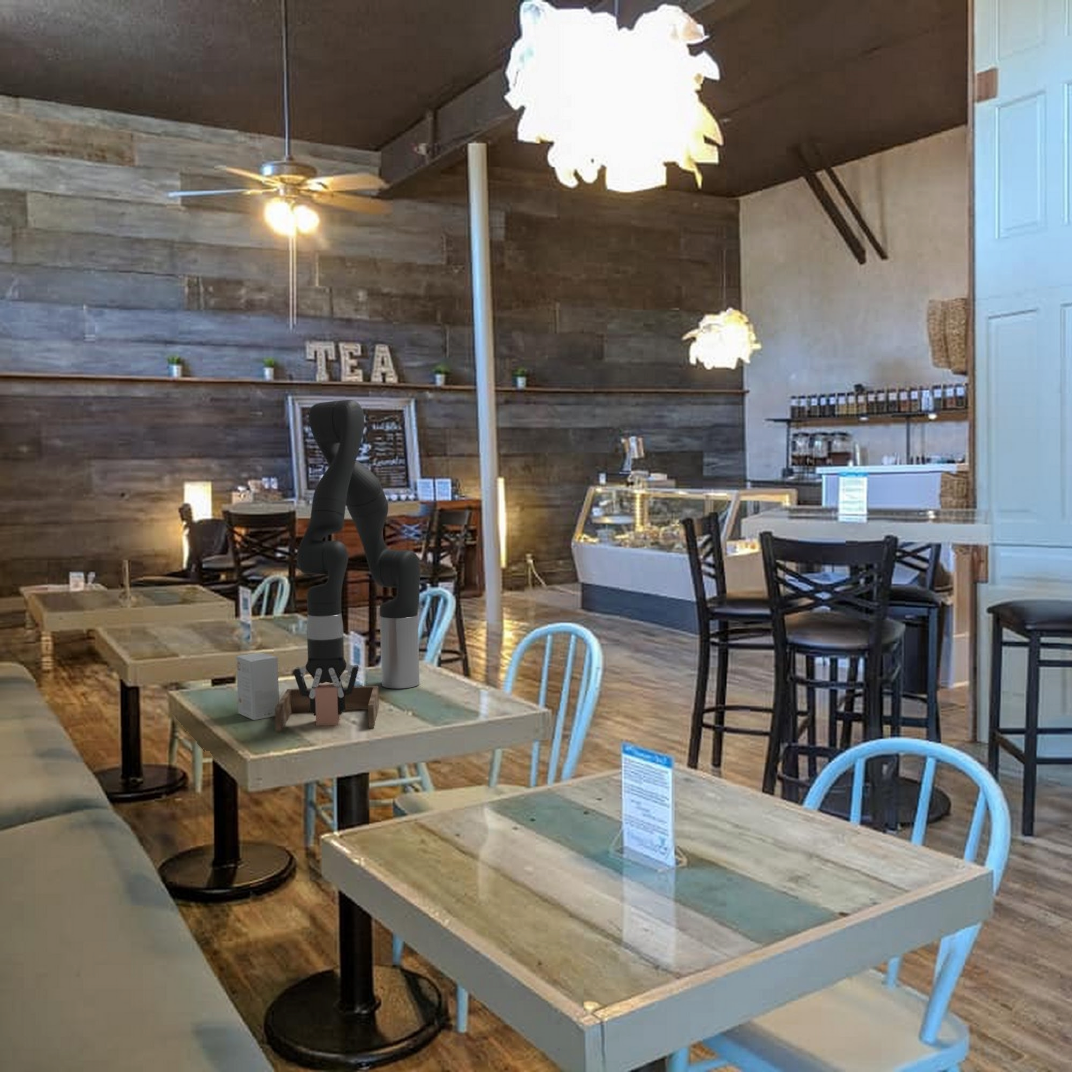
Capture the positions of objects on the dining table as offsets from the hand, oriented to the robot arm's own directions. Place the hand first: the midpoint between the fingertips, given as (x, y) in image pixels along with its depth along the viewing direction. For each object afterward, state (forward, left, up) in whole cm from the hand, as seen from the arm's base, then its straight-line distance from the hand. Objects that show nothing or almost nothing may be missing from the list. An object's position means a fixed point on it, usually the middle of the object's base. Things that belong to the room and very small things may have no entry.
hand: (327, 713), depth 220 cm
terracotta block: (0, 0, -2) cm, 2 cm away
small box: (-9, -16, -2) cm, 18 cm away
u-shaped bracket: (-2, 0, -2) cm, 3 cm away
